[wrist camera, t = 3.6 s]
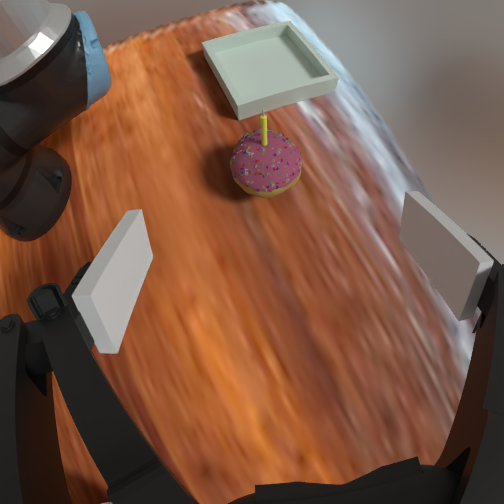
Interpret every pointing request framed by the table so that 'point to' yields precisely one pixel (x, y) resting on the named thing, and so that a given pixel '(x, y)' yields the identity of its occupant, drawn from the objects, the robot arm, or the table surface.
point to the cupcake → (265, 162)
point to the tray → (268, 68)
